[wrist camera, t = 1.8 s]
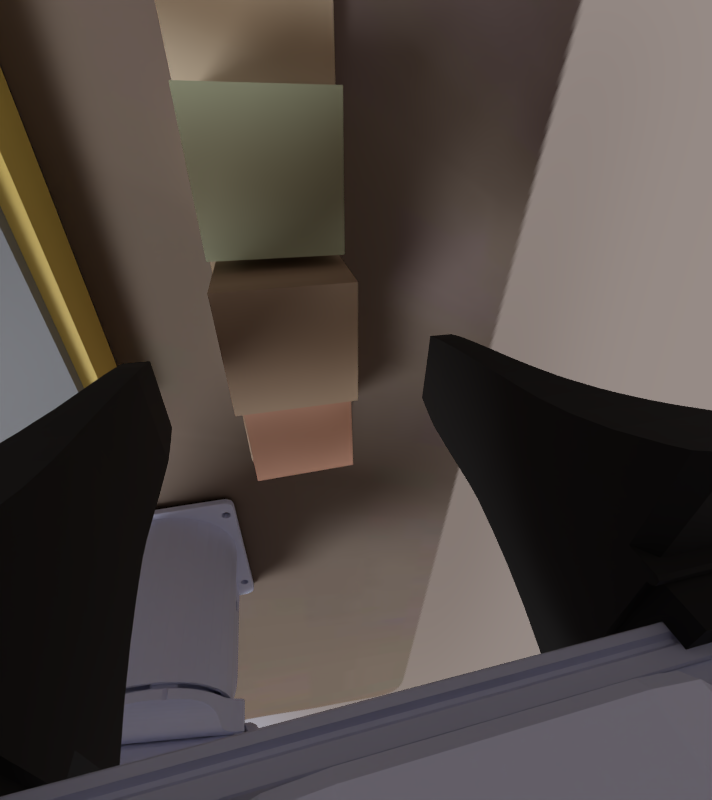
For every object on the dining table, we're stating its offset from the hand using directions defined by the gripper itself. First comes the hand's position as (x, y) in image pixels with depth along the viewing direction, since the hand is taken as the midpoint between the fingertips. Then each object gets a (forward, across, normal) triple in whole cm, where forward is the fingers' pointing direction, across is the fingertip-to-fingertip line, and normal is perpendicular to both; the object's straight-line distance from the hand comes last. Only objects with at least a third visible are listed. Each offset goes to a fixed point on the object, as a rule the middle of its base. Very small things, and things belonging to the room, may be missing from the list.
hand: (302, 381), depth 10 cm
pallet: (+8, 0, 0) cm, 9 cm away
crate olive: (+7, 0, -4) cm, 8 cm away
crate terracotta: (+7, 0, +4) cm, 8 cm away
